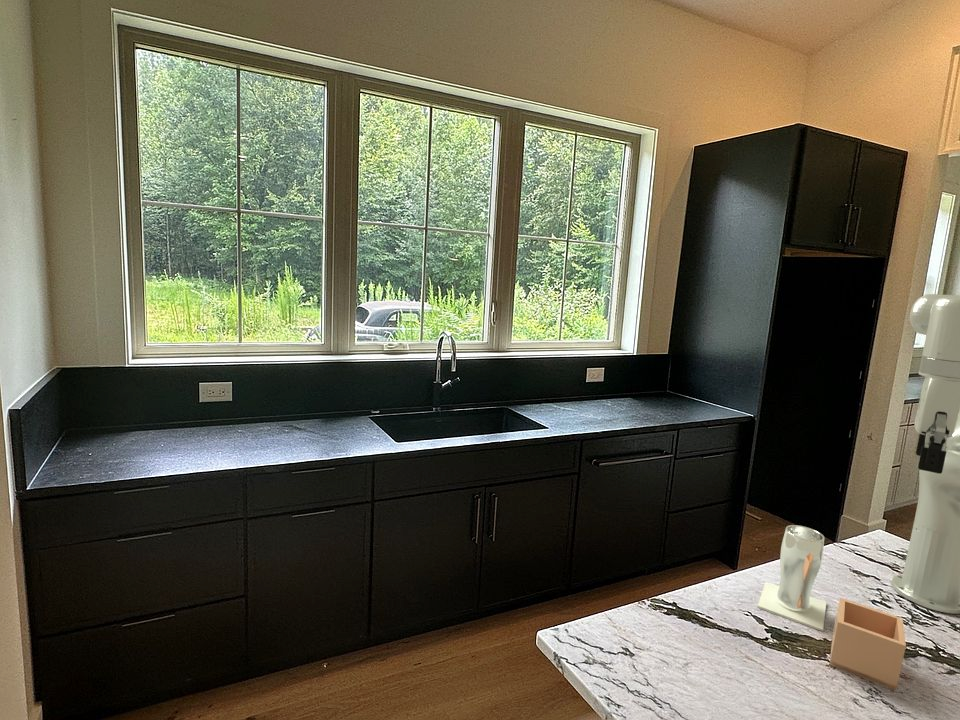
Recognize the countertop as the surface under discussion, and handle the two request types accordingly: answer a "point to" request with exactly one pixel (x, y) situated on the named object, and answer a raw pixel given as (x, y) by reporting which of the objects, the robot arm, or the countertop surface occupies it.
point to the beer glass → (799, 566)
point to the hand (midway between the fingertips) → (927, 463)
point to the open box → (868, 643)
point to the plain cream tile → (809, 618)
